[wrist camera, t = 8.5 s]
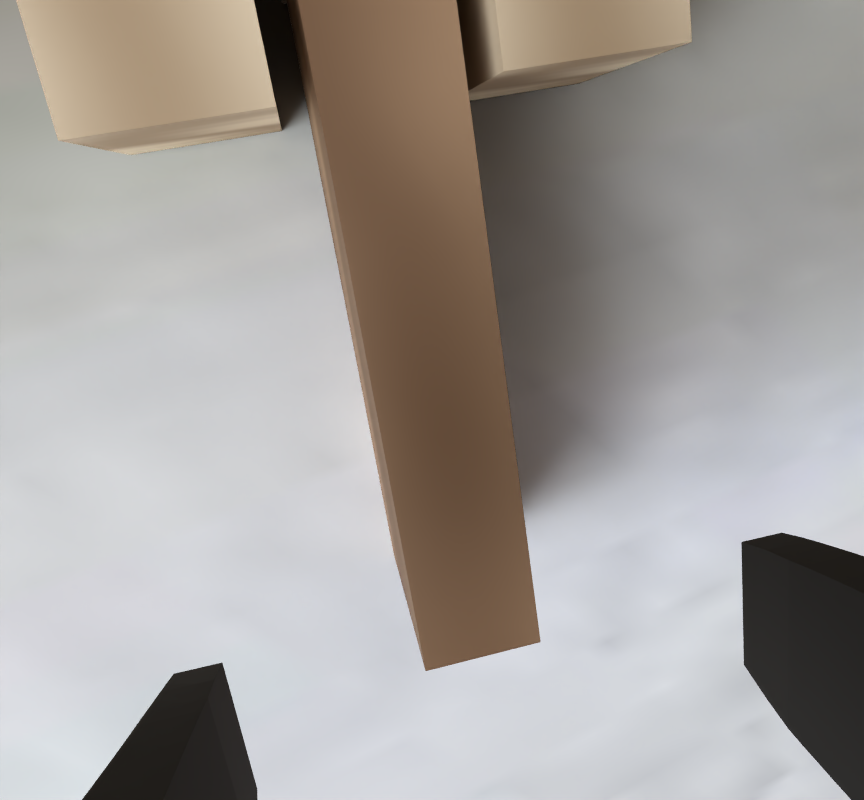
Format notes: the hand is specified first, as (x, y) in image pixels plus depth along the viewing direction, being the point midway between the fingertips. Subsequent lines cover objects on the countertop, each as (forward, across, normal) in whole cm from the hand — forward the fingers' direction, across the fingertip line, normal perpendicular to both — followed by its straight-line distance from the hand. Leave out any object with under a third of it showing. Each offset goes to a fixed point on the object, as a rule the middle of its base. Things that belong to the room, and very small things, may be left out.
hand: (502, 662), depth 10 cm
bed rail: (+9, 0, -4) cm, 10 cm away
